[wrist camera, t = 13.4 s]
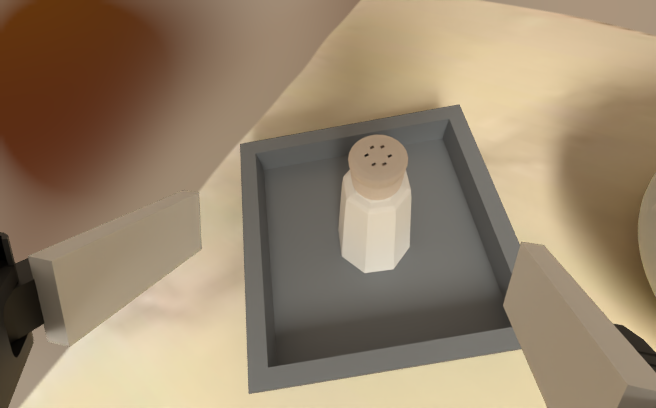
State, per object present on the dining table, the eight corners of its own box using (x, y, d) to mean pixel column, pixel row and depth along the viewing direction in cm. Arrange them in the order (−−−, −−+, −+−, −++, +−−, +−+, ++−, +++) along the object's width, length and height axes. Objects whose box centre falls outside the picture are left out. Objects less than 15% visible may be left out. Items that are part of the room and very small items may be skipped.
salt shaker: (424, 251, 25) (463, 170, 15) (360, 288, 24) (357, 229, 14) (383, 195, 27) (394, 94, 17) (324, 227, 26) (300, 141, 17)
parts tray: (449, 132, 31) (459, 104, 27) (534, 346, 22) (561, 342, 19) (252, 167, 31) (240, 144, 28) (264, 391, 23) (248, 393, 20)
